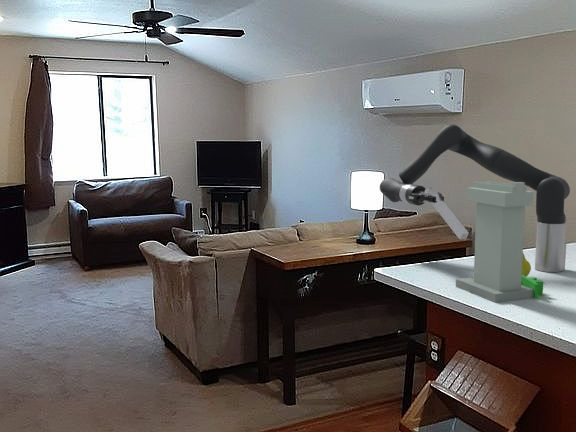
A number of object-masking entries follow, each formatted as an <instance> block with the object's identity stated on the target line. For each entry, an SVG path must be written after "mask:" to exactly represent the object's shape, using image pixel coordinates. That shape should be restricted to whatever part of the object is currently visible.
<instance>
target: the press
mask: <svg viewBox="0 0 576 432" xmlns="http://www.w3.org/2000/svg"><path fill="white" fill-rule="evenodd" d="M465 189H466V190H465V191H466V193H465V201H467V202H474V203H476V209H475V212H476V213H475V233H474V234H475V236H474V237H475V238H474V259H473V261H474V263H473V264H474V265H473V277H462V278H456V279H455V288H458V289H461V290H463V291H465V292H468V293H471V294H473V295H476V296H477V297H481V298H483V299H484V300H485V299H486V300H488V301H490V302H493V303H501V302H509V301H515V300H516V301H519V300H524V299H534V298H533V296H534V289H531V288H528V287H525V286H522V285H521V279H522V258H523V253H524V239H525V238H524V236H525V235H524V234H525V218H526V217H525V214H526V207H527V206H533V205H534V191H532V190H528V186H526V185H524V182H513V181H512V182H511V183H504V182H498V181H497V182H495V181H488V180H485V181H484V182H480V181H473V184H472V187H466V188H465Z"/></svg>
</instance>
